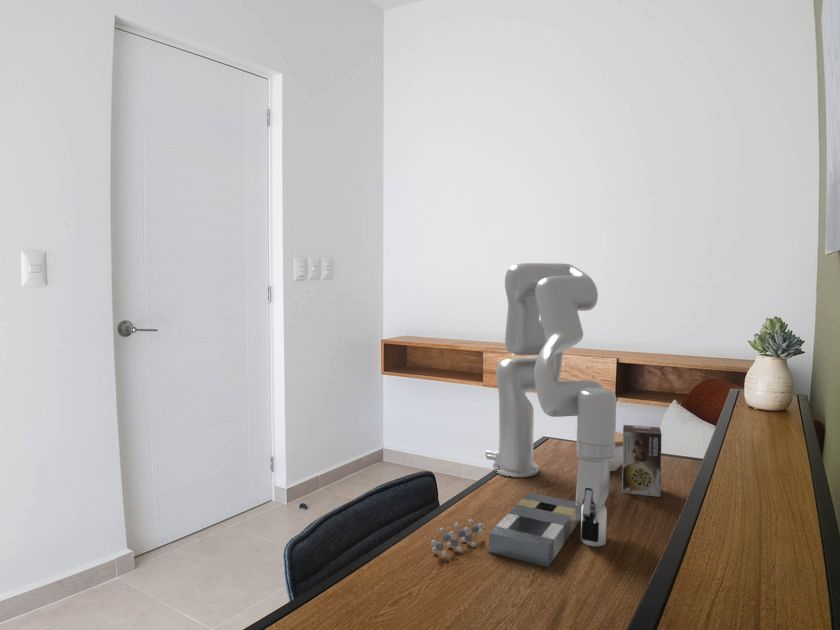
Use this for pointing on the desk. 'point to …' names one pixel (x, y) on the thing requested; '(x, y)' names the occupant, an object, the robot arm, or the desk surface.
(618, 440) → the lidded bowl
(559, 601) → the desk surface
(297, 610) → the desk surface
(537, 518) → the socket block
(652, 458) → the coffee box
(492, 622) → the desk surface
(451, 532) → the molecular model
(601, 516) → the white capsule cylinder
